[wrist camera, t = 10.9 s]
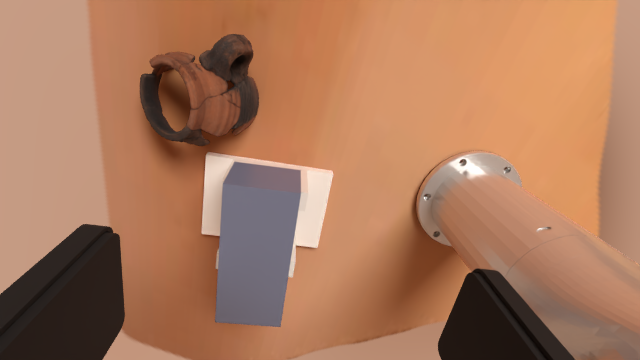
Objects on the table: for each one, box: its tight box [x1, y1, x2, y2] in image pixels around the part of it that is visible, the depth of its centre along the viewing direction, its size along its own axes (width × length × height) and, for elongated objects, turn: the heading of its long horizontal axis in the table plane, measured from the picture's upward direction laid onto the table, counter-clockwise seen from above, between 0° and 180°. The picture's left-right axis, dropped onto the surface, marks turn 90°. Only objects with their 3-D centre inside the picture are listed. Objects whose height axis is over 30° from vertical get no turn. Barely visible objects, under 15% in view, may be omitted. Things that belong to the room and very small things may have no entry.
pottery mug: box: [140, 34, 259, 146], centre depth 31 cm, size 12×10×8 cm
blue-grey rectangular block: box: [215, 162, 301, 327], centre depth 30 cm, size 6×14×5 cm, turn 171°
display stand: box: [202, 152, 333, 277], centre depth 36 cm, size 14×10×7 cm
